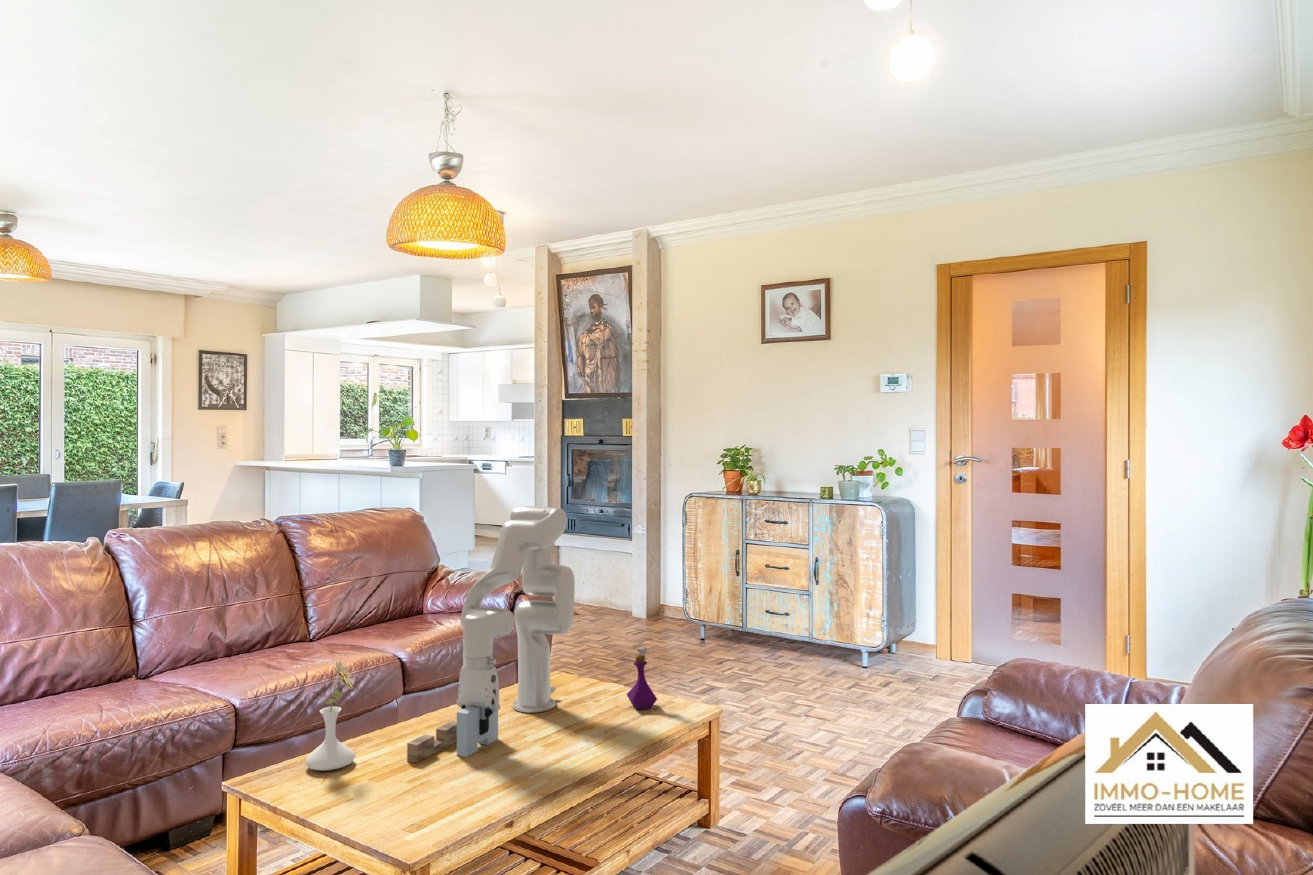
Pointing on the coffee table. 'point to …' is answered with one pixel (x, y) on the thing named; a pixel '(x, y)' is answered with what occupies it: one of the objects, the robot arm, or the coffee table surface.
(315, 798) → the coffee table surface
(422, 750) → the brown notched bar
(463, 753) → the blue grey notched plate
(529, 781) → the coffee table surface
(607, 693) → the coffee table surface
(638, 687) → the perfume bottle
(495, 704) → the robot arm
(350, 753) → the flower in vase
